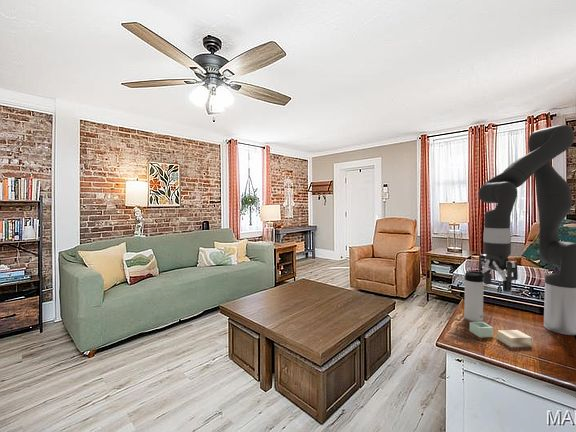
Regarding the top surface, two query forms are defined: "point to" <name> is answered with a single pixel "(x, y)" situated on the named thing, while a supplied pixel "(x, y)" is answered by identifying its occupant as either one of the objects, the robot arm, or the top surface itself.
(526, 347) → the mat
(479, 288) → the travel mug
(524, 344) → the lid
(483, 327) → the mint green open box
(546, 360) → the top surface
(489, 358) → the top surface
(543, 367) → the top surface
